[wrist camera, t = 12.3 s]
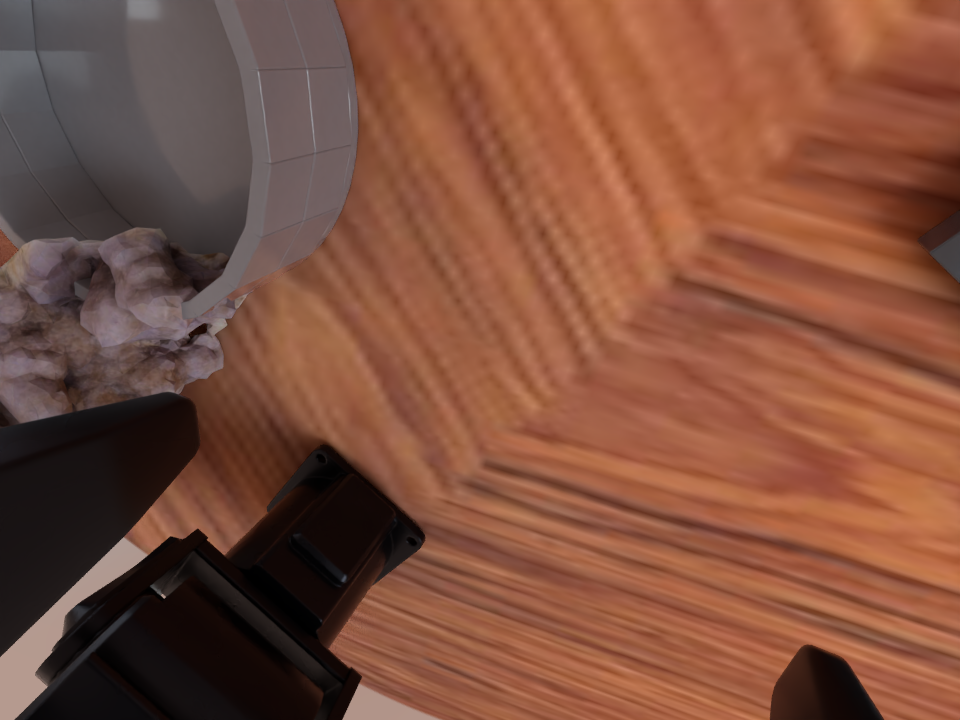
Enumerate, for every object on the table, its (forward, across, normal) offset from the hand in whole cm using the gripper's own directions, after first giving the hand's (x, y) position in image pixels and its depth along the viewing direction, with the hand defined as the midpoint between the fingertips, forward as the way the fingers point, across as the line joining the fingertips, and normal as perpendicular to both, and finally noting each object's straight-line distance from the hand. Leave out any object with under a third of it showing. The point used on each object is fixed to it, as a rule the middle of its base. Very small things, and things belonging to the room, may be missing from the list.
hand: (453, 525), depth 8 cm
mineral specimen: (+12, +21, +10) cm, 26 cm away
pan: (+12, +16, -2) cm, 20 cm away
